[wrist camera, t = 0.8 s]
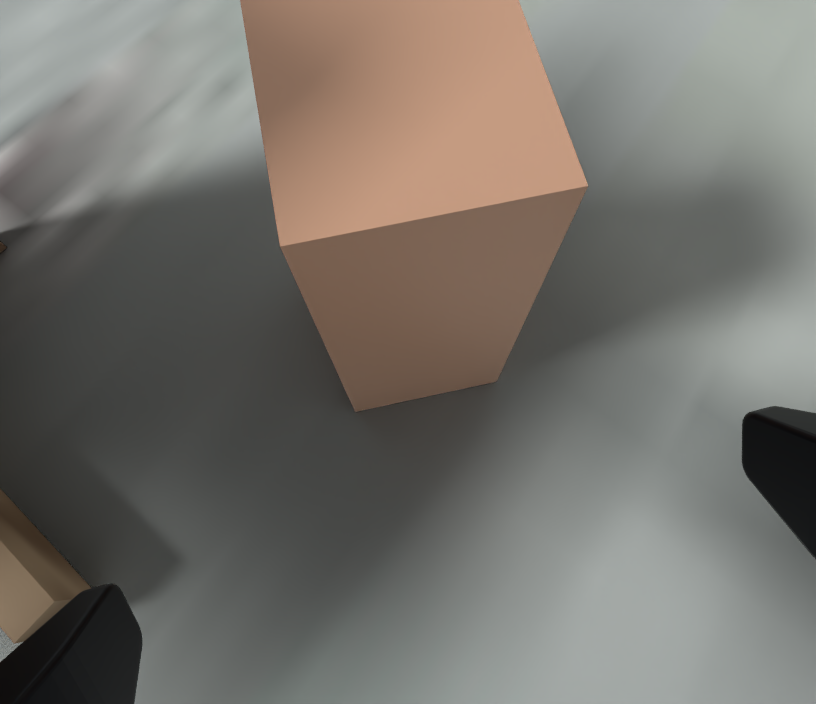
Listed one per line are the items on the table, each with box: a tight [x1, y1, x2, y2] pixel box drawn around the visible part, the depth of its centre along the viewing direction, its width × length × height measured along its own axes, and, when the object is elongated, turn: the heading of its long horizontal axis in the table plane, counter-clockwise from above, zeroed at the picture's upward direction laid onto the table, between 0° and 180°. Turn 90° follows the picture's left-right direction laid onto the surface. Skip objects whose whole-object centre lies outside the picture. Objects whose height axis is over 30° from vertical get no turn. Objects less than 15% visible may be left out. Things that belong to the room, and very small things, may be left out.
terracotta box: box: [240, 0, 588, 412], centre depth 17 cm, size 6×6×12 cm
